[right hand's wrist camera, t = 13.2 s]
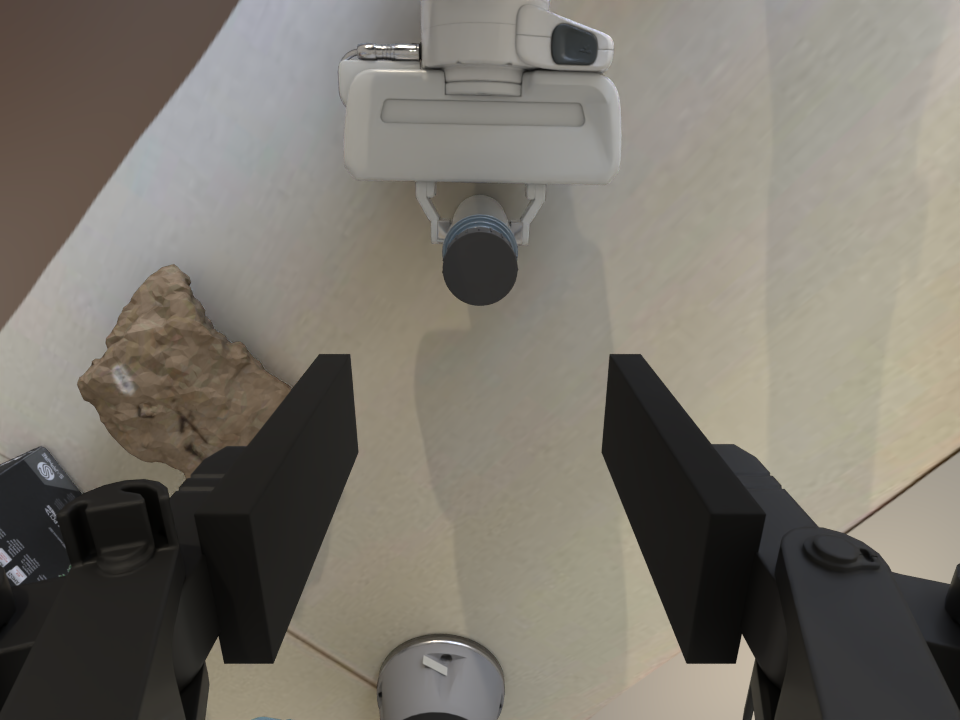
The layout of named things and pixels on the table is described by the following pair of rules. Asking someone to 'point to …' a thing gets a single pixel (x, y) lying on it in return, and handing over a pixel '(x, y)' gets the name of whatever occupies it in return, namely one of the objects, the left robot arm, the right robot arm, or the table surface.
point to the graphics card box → (33, 517)
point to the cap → (480, 266)
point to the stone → (177, 379)
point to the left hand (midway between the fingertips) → (480, 243)
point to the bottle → (480, 219)
